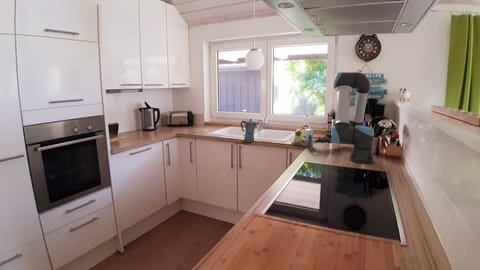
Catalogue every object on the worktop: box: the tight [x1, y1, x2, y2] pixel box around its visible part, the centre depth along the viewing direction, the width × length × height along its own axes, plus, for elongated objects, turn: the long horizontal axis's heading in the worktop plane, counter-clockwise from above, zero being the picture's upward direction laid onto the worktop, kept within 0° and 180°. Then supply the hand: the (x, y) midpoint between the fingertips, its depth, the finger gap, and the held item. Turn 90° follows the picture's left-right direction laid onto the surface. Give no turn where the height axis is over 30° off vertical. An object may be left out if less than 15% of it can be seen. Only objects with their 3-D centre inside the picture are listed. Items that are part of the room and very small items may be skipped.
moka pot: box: [240, 118, 258, 143], centre depth 241 cm, size 10×15×20 cm, turn 78°
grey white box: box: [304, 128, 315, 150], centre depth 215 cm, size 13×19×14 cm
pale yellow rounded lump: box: [291, 128, 306, 147], centre depth 233 cm, size 10×10×13 cm
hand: (311, 141), depth 207 cm, fingers closed
